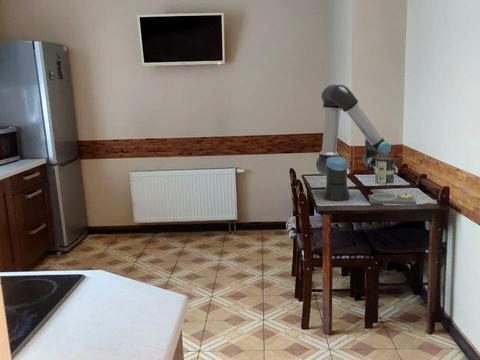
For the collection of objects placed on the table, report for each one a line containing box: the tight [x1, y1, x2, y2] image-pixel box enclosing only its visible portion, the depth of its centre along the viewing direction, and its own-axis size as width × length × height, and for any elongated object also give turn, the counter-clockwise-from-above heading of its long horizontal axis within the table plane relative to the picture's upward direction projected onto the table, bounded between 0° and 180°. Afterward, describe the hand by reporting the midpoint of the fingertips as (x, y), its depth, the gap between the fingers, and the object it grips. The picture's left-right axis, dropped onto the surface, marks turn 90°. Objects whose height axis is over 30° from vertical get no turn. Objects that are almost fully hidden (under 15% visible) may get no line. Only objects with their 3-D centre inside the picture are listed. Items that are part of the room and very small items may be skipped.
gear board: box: [367, 192, 417, 205], centre depth 259 cm, size 24×14×4 cm, turn 80°
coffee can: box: [374, 156, 396, 186], centre depth 257 cm, size 10×10×14 cm
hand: (387, 170), depth 252 cm, fingers closed on coffee can, 10 cm apart
